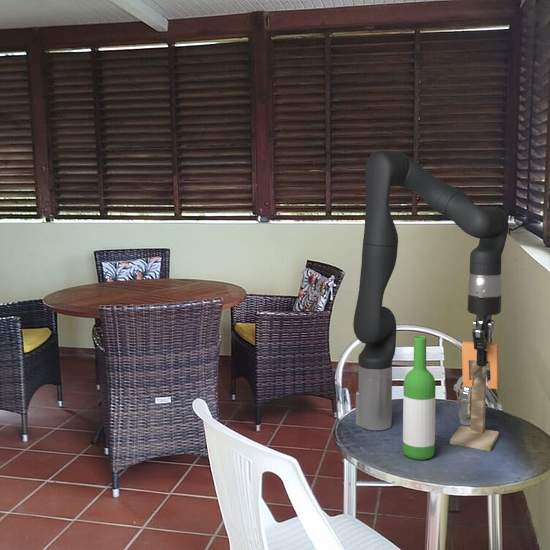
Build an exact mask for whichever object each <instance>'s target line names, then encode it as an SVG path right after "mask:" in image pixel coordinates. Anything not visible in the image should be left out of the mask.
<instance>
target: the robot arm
mask: <svg viewBox="0 0 550 550" xmlns="http://www.w3.org/2000/svg"><path fill="white" fill-rule="evenodd" d="M364 175H365V177H364V178H365V182H364V183H365V214H364V229H363V230H364V231H363V238H362V239H363V240H362V248H361V249H362V251H361V266H360V276H359V286H358V295H357V299H356V305H355V311H354V316H353V324H352V326H353V332H354V335H355V336H356V339H357V340H358V341H359V342H360V343H362V344H365V345H364V347H363V349H362V350H361V352H360V353H359V354H358V364H357V365H358V366H357V367H358V377H357V378H358V379H357V381H358V382H357V383H358V384H357V385H358V386H357V387H358V390H357V391H356V392H355V426H359V427H360V428H362V429H365V430H369V431H384V430H388V429H390V428H391V427H392V424H393V423H392V420H393V416H392V415H393V414H392V413H393V412H392V410H393V359H394V357H395V354H396V345H397V320H396V316H395V315H394V313H393V311H392V310H391V309H390V308H388V307H386V306H384V305H383V300H384V294H385V291H386V288H387V286H388V284H389V281H390V279H391V277H392V275H393V272H394V270H395V267H396V263H397V258H398V248H399V235H398V231H397V230H398V229H397V227H396V224H395V221H394V220H393V217H392V213H391V209H390V193H391V187H401V188H404V189H407V190H409V191H412V192H413V193H416V194H417V195H419V197H421V199H422V200H423V201H424V202H425V203H426V204H427V206H429V207H430V208H431V209H432V210H434V211H435V212H437V213H439V214H441V215H442V216H444V217H446V218H447V219H449V220H451V221H453V223H454V224H455V225H456V226H457V227H458V228H460V230H462V231H463V232H464V233H465V234H466V235H469V236H470V237H473V238H476V239H479V240H478V245H477V246H476V248H474V249H472V250H471V251H470V253H469V254H470V255H469V256H470V257H469V275H468V280H467V281H468V282H467V312H468V313H470V314H473V315H475V316H476V318H475V320H473V328H472V330H471V333H472V342H473V343H474V349H475V350H477V363H476V364H477V366H482V367H485V366H486V365H488V363H490V362H489V361H487V350H488V348H487V345H488V343H493V337H494V336H493V334H494V328H495V320H494V319H493V316H495V315H496V316H497V315H499V314H500V313H502V294H503V292H502V290H503V289H502V288H503V283H502V255H503V251H504V249H505V245H506V242H507V237H508V234H509V233H508V232H509V218H508V215H507V212H506V211H505V210H503V208H501V207H498V206H483V207H482V206H479V205H477V204H475V203H474V201H473V198H472V197H471V196H470V195H469V194H467V193H465V192H464V191H462V190H460V189H459V188H456V187H454V186H452V185H451V184H448V183H447V182H445V181H443V180H441V179H439V178H438V177H436V176H435V175H433V174H431V173H430V172H429V171H427V170H426V169H425V168H423V167H421V166H420V165H419V164H418V163H417V162H415V161H414V160H413V159H412V158H410V157H409V156H408V155H406V154H405V153H403V152H401V151H398V150H385V149H384V150H376V151H374V152H372V153H371V154H370V155H369V157H368V159H367V162H366V165H365V174H364ZM479 343H481V344H482V345H479Z"/></svg>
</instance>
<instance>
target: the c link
mask: <svg viewBox="0 0 550 550" xmlns="http://www.w3.org/2000/svg"><path fill="white" fill-rule="evenodd" d="M479 345H482V344H481V343H479ZM487 348H488V350H487V361H489V362H488V363H489V365H490V367H489V369H490V370H489V372H490V379H488V381H487V389H492V390H498V389H499V387H500V378H499V377H500V372H499V371H500V370H499V367H500V366H499V362H500V361H499V359H500V357H499V343H495V342H492V343H488V345H487ZM461 359H462V360H461V365H462V367H461V368H462V376H463V386H468V387H472V386H473V385H474V378H471V368H472V361H477V350H475V349H474V343H473V341H463V342H461Z"/></svg>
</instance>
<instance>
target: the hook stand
mask: <svg viewBox="0 0 550 550" xmlns="http://www.w3.org/2000/svg"><path fill="white" fill-rule="evenodd" d="M476 363H477V361H475V360H473V362H472V365H471V378H474V385H473V386H472V402H471V426H466V425H459V427H458V428H457V429H456V431H455V432H454V434H453V435H452V436H451V437H450V440H449V444H450V445H453V446H458V447H459V446H460V447H466V448H472V449H475V450H476V449H477V450H483V451H488V452H491V450H492V448H493V446H494V445H495V443H496V441H497V439H498V437H499V436H500V435H499V434H500V431H497V430H491V429H485V428H486V402H487V401H486V400H487V399H486V398H487V394H486V393H487V365H488V364H487V365H486V366H485V367H482V366H477V364H476Z"/></svg>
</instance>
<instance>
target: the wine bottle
mask: <svg viewBox="0 0 550 550" xmlns="http://www.w3.org/2000/svg"><path fill="white" fill-rule="evenodd" d="M435 380H436V379H435V377H434V375H433V374H432V373H431V372H430V371H429V370H428V369H427V337H426V336H424V335H416V336H414V337H413V368H412V369H411V370H409V371H408V372H407V373H406V375H405V376H404V380H403V396H402V397H403V398H402V400H403V402H402V403H403V406H402V408H403V409H402V452H403V453H404V455H405V456H406V457H408V458H409V459H412V460H416V461H421V460H422V461H423V460H425V461H426V460H428V459H431V458H433V456H434V454H435V445H436V444H435V443H436V389H437V388H436V386H437V384H436V381H435Z"/></svg>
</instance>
